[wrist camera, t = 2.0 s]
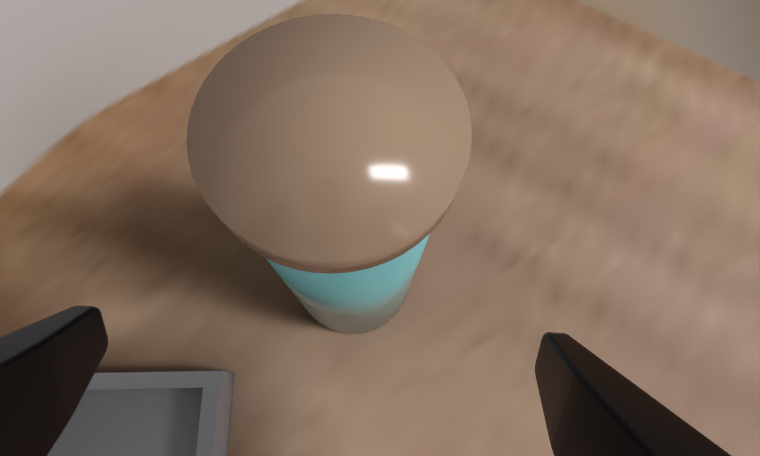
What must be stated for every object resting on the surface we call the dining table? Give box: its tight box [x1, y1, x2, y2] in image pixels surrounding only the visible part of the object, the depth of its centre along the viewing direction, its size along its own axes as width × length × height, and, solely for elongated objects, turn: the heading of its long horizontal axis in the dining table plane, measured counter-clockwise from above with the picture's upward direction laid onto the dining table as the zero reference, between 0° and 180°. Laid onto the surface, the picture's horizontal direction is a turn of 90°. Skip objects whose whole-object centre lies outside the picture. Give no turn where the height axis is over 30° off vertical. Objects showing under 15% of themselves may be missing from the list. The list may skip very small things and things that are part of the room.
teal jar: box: [187, 14, 472, 334], centre depth 14 cm, size 5×5×12 cm
